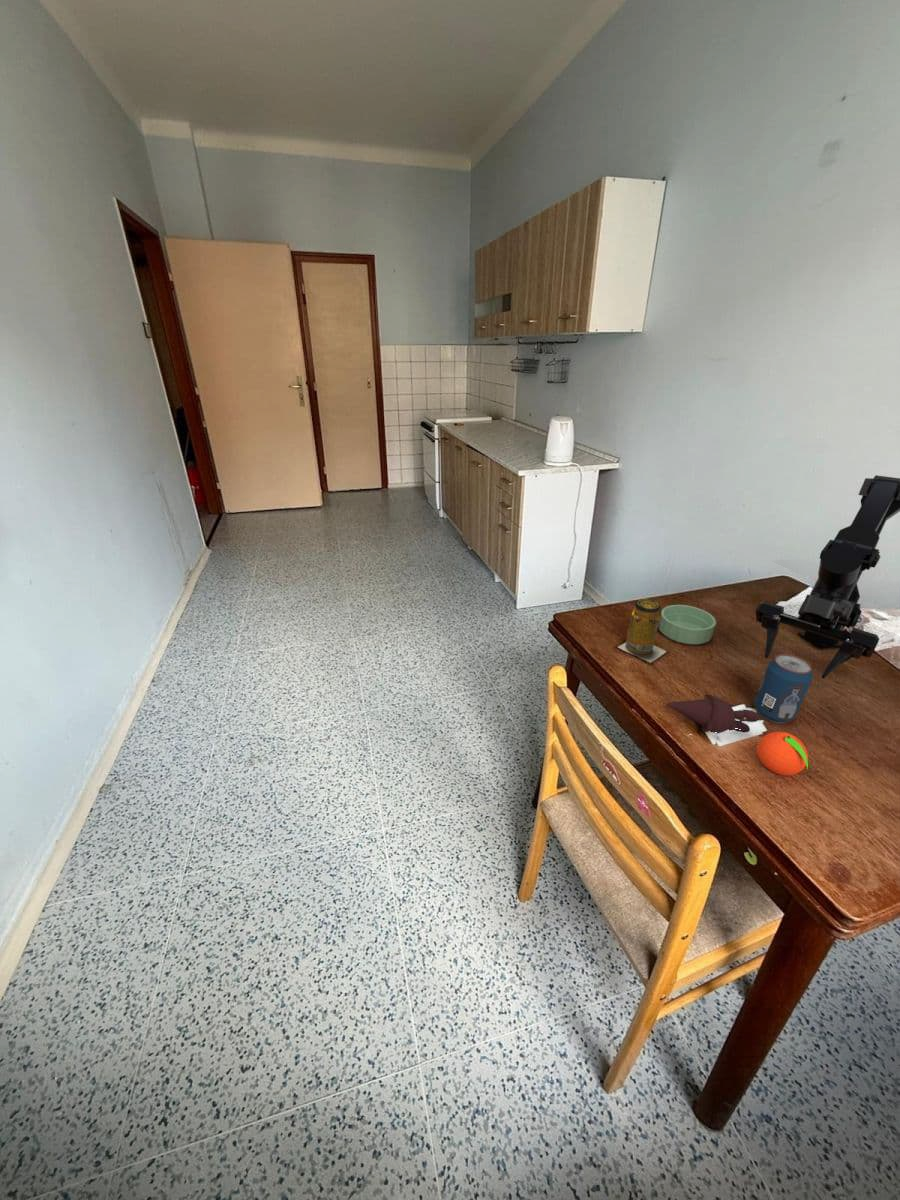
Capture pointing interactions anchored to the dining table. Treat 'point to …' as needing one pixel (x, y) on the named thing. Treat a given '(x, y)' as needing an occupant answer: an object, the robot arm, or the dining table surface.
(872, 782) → the dining table surface
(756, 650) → the dining table surface
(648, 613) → the condiment
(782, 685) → the soda can
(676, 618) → the pale green shallow bowl
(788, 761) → the clementine
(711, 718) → the icecream
